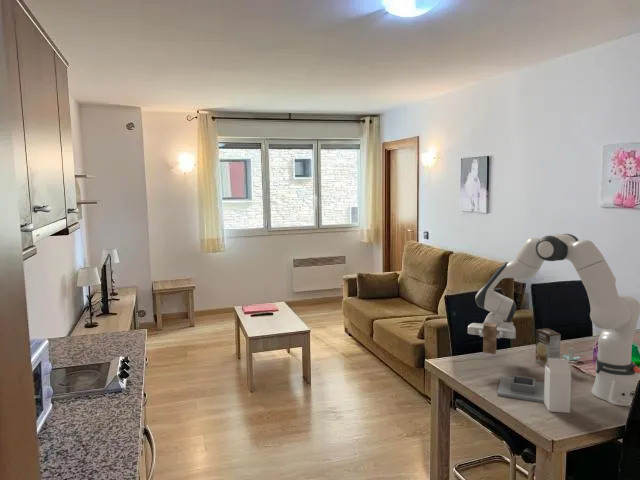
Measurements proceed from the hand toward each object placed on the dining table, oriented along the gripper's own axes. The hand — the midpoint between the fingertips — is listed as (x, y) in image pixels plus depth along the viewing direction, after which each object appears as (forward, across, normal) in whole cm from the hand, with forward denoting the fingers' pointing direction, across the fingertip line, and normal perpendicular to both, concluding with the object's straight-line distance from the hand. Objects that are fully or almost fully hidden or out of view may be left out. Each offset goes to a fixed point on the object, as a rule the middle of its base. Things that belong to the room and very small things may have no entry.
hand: (489, 335), depth 202 cm
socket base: (+9, +14, +18) cm, 25 cm away
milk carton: (+21, +26, +19) cm, 38 cm away
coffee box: (-24, +23, +19) cm, 38 cm away
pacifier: (-34, +33, +19) cm, 51 cm away
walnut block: (-1, 0, +7) cm, 7 cm away
